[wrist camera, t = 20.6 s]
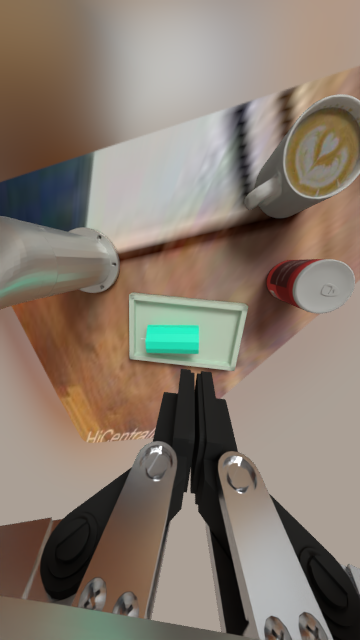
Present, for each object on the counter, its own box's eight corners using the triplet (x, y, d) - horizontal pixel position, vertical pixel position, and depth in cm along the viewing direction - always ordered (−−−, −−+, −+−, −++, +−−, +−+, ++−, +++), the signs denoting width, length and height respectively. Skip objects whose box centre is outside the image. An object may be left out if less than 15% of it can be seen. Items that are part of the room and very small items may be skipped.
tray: (133, 353, 43) (129, 358, 40) (133, 292, 38) (129, 294, 36) (231, 364, 42) (234, 371, 39) (244, 303, 37) (248, 306, 35)
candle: (198, 324, 39) (145, 323, 40) (199, 326, 33) (136, 325, 34) (197, 350, 39) (145, 349, 40) (198, 358, 33) (137, 356, 34)
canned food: (302, 299, 36) (346, 314, 26) (262, 298, 36) (289, 313, 26) (311, 260, 34) (364, 259, 23) (268, 259, 34) (301, 258, 24)
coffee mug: (314, 138, 28) (375, 76, 19) (317, 207, 31) (373, 182, 21) (230, 170, 30) (247, 128, 21) (241, 232, 33) (260, 219, 23)
